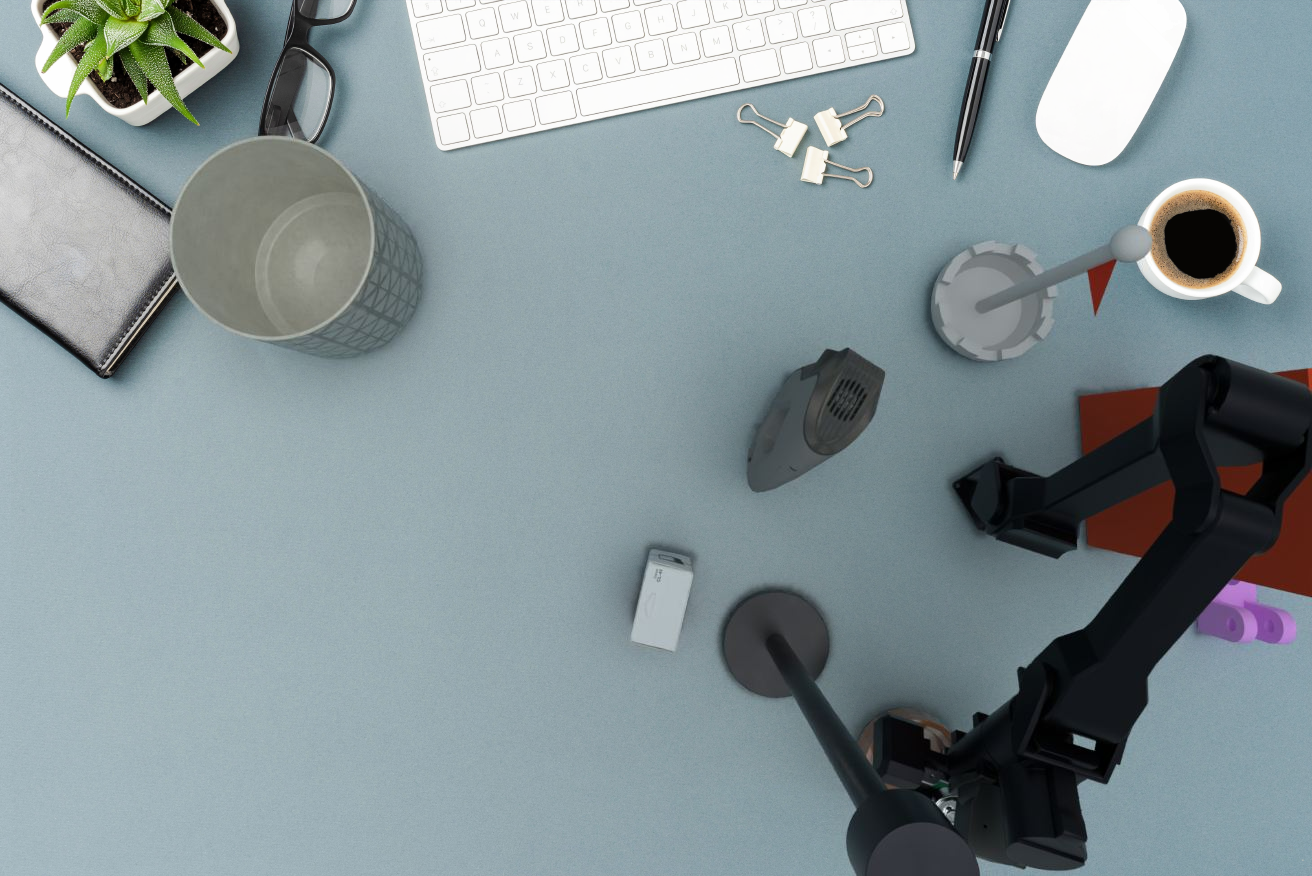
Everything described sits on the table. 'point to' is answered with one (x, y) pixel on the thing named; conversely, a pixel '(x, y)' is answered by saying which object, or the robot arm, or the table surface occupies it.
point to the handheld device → (814, 417)
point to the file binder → (1296, 563)
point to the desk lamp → (840, 741)
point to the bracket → (1246, 617)
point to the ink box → (662, 600)
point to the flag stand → (1017, 293)
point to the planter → (293, 250)
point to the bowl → (931, 725)
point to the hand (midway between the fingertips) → (928, 803)
